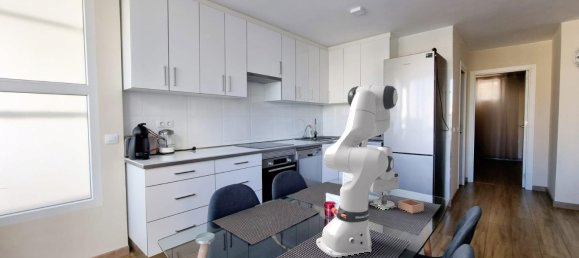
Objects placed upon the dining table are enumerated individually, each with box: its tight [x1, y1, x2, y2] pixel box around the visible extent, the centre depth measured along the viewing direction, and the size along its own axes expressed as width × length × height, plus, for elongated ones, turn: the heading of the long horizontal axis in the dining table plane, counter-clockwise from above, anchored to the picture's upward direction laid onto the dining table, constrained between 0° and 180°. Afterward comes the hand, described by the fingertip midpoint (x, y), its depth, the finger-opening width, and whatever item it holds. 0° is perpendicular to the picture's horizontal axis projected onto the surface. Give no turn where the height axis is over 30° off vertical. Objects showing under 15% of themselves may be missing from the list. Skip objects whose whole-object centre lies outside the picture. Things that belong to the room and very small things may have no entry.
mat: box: [369, 202, 397, 211], centre depth 144 cm, size 10×10×1 cm
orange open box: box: [397, 198, 425, 215], centre depth 138 cm, size 9×9×4 cm
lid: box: [373, 194, 395, 209], centre depth 145 cm, size 11×11×5 cm
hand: (383, 198), depth 145 cm, fingers closed on lid, 3 cm apart
